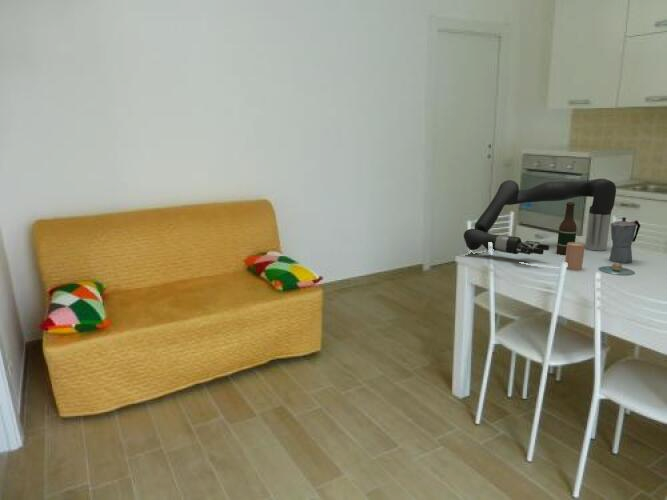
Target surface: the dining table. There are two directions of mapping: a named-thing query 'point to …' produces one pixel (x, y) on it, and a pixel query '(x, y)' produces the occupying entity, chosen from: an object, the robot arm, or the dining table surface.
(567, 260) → the cup
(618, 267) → the ball
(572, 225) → the beer bottle
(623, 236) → the moka pot
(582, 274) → the dining table surface
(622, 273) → the plate
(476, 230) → the robot arm
